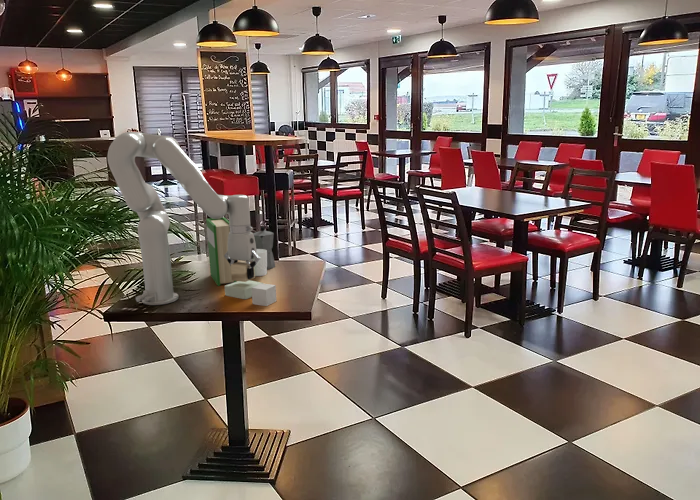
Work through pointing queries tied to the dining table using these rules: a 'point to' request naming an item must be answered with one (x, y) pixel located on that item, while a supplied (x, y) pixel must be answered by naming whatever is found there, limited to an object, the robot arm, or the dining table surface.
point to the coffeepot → (265, 245)
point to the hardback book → (219, 250)
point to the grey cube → (264, 294)
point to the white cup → (261, 263)
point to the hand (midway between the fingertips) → (243, 276)
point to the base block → (240, 289)
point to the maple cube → (240, 271)
